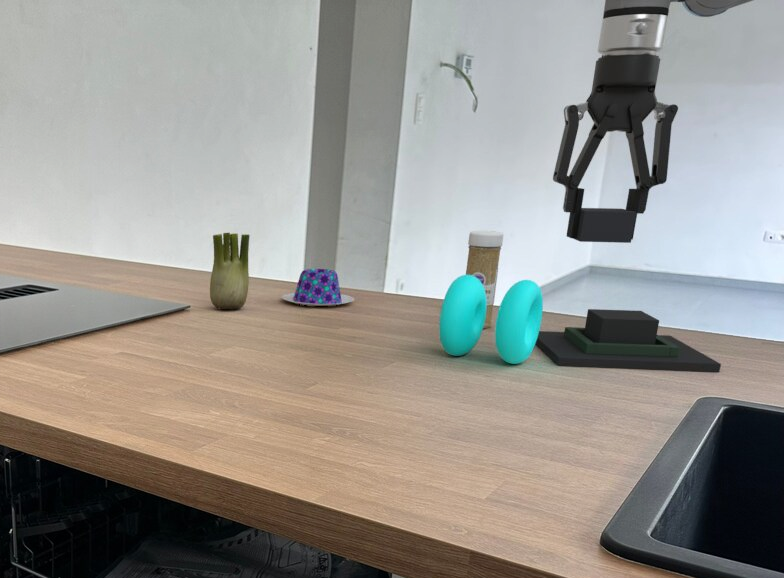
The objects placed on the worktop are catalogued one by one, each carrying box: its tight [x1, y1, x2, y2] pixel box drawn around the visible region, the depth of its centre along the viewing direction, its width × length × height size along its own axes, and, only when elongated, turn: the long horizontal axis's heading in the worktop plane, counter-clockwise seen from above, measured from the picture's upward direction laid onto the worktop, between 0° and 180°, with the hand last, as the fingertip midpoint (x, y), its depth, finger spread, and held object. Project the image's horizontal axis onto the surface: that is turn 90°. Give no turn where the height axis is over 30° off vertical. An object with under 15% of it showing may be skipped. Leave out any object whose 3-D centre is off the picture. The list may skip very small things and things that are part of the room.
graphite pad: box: [572, 207, 636, 244], centre depth 118 cm, size 6×6×4 cm
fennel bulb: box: [209, 232, 250, 310], centre depth 135 cm, size 6×5×12 cm
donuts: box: [438, 274, 544, 365], centre depth 104 cm, size 10×10×10 cm
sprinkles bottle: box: [465, 230, 504, 329], centre depth 123 cm, size 5×5×13 cm
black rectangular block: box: [584, 308, 660, 345], centre depth 108 cm, size 6×6×4 cm
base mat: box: [535, 326, 722, 373], centre depth 109 cm, size 18×16×2 cm
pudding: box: [281, 268, 355, 307], centre depth 143 cm, size 12×12×5 cm
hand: (599, 237), depth 119 cm, fingers closed on graphite pad, 6 cm apart
